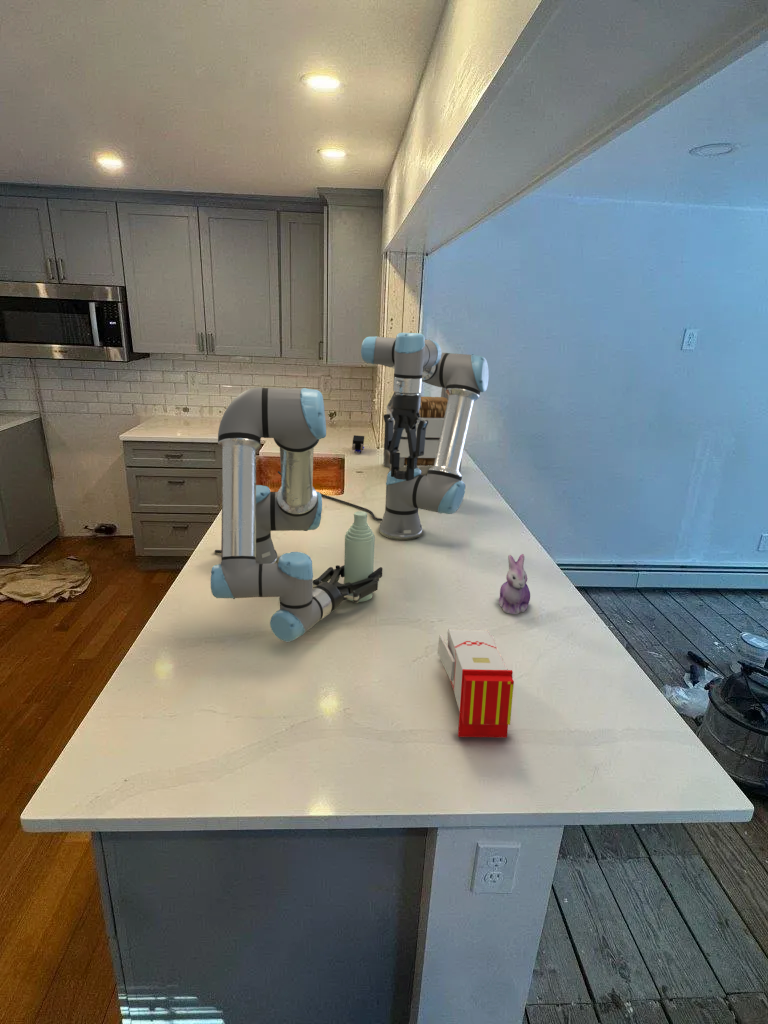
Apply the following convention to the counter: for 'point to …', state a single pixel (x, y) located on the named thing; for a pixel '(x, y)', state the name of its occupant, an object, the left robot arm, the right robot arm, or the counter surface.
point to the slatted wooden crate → (434, 414)
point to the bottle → (359, 551)
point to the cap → (400, 473)
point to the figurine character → (358, 443)
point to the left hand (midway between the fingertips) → (367, 568)
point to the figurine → (515, 588)
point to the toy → (478, 682)
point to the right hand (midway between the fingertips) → (402, 477)
